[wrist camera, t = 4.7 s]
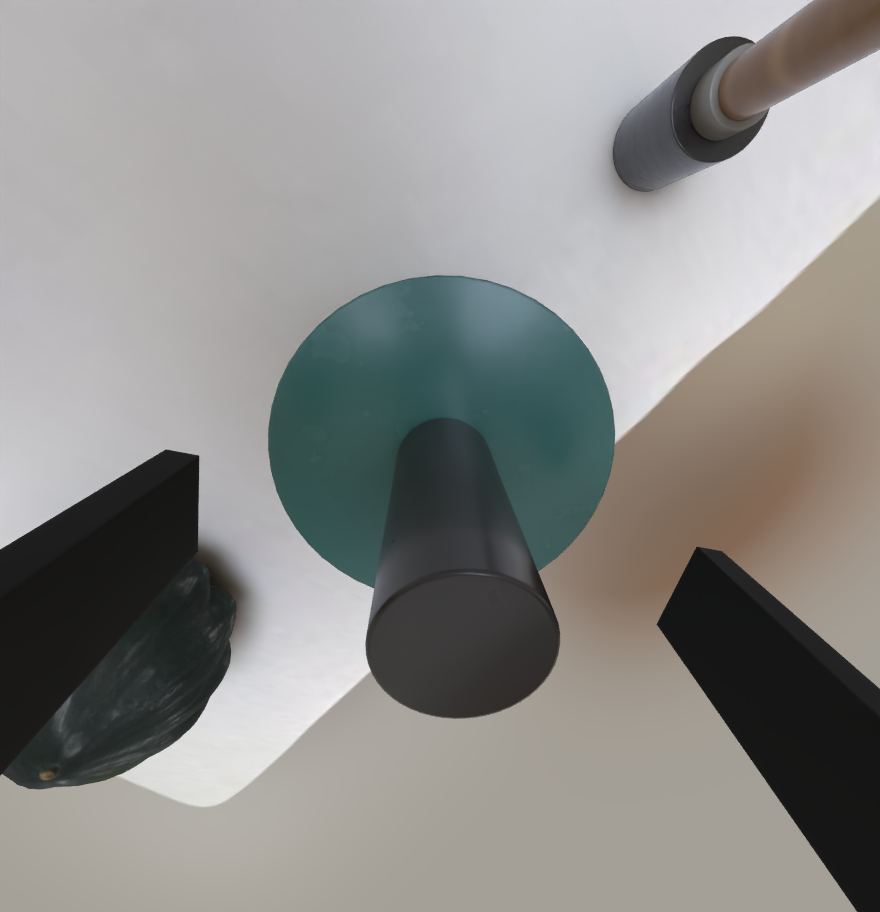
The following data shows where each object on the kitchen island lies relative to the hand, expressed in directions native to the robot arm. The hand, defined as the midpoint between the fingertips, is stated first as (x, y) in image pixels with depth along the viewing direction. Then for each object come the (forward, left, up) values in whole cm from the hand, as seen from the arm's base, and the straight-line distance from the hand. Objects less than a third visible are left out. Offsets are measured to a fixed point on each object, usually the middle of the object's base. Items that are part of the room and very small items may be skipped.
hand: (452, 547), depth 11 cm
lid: (0, 0, -6) cm, 6 cm away
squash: (-18, -21, -19) cm, 33 cm away
